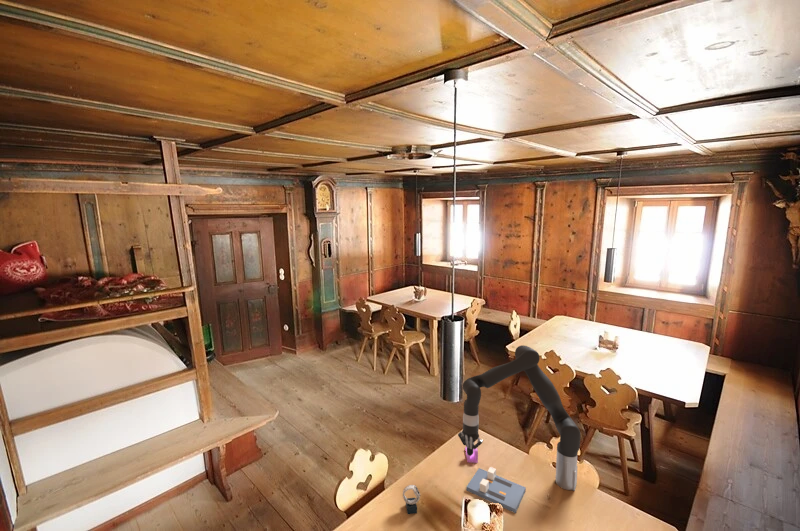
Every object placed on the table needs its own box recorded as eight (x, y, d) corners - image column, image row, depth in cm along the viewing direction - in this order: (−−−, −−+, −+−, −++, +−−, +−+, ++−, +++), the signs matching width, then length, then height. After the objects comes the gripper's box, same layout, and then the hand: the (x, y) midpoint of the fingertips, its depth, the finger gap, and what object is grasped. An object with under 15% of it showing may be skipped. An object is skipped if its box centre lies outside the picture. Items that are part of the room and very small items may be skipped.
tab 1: (488, 488, 168) (488, 480, 168) (485, 493, 165) (485, 485, 164) (482, 485, 170) (483, 478, 169) (479, 490, 167) (479, 483, 166)
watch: (421, 512, 157) (421, 490, 156) (403, 514, 156) (403, 492, 155) (419, 503, 162) (418, 481, 161) (402, 504, 161) (401, 483, 160)
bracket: (477, 462, 190) (478, 451, 189) (467, 462, 190) (467, 450, 189) (474, 447, 202) (474, 436, 202) (464, 447, 203) (464, 436, 202)
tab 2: (495, 475, 176) (496, 469, 176) (493, 480, 173) (493, 473, 173) (490, 473, 178) (490, 466, 177) (487, 478, 175) (487, 471, 174)
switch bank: (525, 491, 169) (525, 487, 169) (515, 513, 156) (515, 509, 156) (479, 471, 183) (479, 467, 182) (466, 490, 170) (466, 486, 169)
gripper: (486, 422, 167) (485, 455, 169) (461, 413, 175) (460, 445, 177) (480, 429, 161) (479, 464, 163) (455, 420, 169) (454, 453, 171)
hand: (469, 454), depth 170 cm, fingers closed
